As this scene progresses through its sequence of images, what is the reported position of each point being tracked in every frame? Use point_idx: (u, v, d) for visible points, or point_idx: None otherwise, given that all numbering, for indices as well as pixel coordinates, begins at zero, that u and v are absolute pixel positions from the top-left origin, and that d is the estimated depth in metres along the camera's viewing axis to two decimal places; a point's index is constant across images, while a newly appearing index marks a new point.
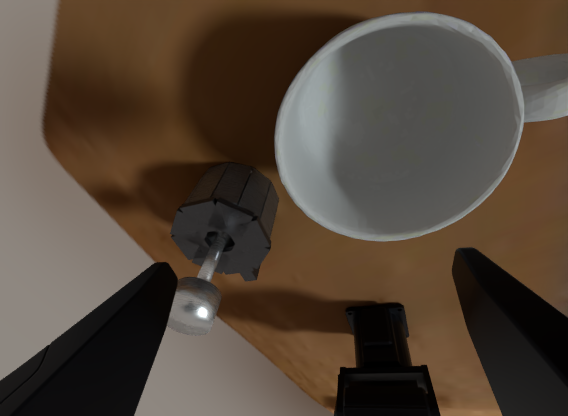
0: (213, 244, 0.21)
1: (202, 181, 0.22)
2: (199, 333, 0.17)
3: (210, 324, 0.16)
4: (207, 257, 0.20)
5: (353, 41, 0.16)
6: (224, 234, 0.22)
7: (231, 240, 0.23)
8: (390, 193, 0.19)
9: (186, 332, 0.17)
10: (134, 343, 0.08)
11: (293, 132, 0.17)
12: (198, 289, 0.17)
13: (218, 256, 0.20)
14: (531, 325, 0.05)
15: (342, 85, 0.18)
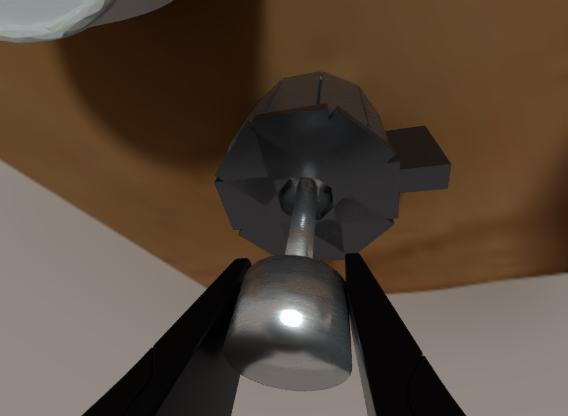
0: None
1: None
2: (341, 361, 0.06)
3: (296, 329, 0.06)
4: None
5: None
6: (299, 186, 0.12)
7: None
8: None
9: (336, 377, 0.07)
10: None
11: None
12: (241, 291, 0.07)
13: (300, 215, 0.10)
14: (366, 324, 0.06)
15: None
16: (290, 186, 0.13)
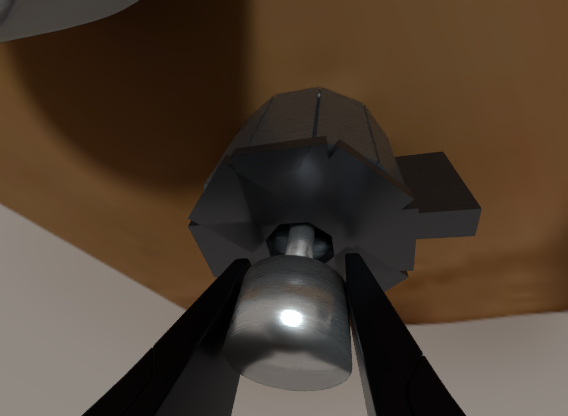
0: None
1: None
2: (341, 361, 0.06)
3: (296, 329, 0.06)
4: None
5: None
6: None
7: None
8: None
9: (336, 377, 0.07)
10: None
11: None
12: (241, 291, 0.07)
13: None
14: (366, 324, 0.06)
15: None
16: None
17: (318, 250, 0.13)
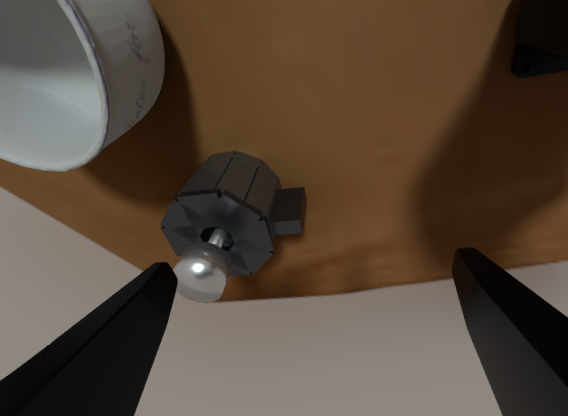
0: None
1: None
2: (216, 283, 0.16)
3: (194, 269, 0.15)
4: None
5: (28, 57, 0.17)
6: None
7: None
8: None
9: (218, 292, 0.16)
10: (134, 343, 0.08)
11: (83, 135, 0.17)
12: (180, 258, 0.17)
13: None
14: (531, 325, 0.05)
15: (78, 67, 0.18)
16: None
17: None
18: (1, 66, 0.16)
